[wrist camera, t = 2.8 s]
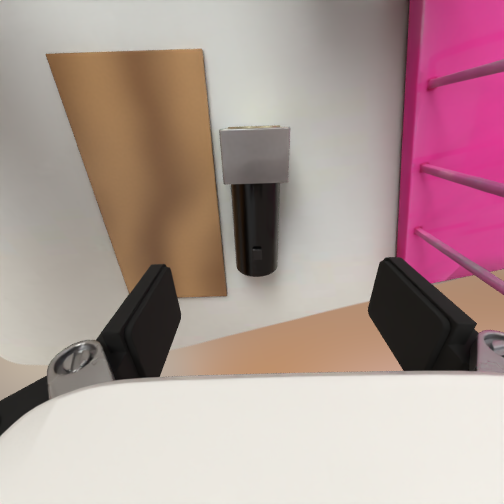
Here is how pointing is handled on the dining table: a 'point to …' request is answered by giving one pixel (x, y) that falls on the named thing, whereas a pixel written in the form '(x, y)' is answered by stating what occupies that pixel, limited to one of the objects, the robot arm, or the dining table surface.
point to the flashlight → (255, 191)
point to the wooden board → (149, 159)
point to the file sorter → (453, 141)
